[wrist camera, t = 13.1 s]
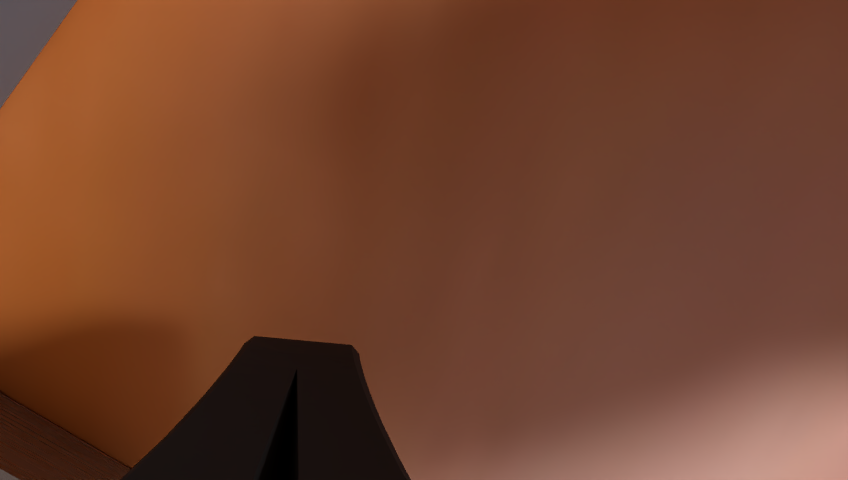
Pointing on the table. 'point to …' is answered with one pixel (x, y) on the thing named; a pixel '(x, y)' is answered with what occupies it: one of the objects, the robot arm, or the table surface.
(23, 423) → the guide rail
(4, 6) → the sliding jaw
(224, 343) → the table surface
